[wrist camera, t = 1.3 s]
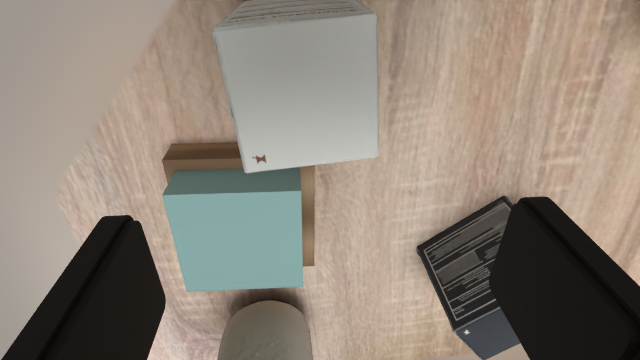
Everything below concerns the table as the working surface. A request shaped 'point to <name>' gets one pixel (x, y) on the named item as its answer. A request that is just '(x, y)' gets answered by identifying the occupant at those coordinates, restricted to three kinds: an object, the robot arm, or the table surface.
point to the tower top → (237, 228)
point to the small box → (471, 278)
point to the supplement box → (301, 81)
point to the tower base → (230, 158)
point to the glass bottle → (266, 334)
